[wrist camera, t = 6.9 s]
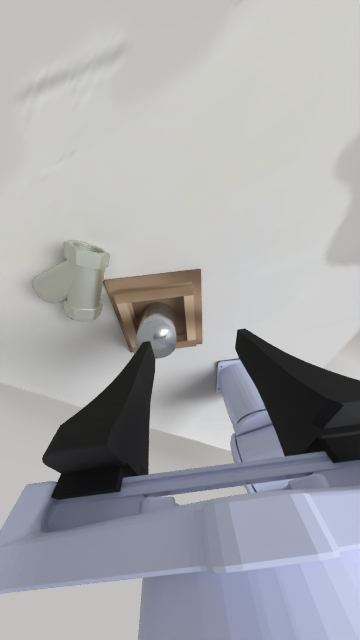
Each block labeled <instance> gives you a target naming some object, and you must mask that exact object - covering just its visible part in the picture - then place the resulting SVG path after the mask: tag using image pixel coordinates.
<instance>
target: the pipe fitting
mask: <svg viewBox="0 0 360 640" xmlns="http://www.w3.org/2000/svg"><path fill="white" fill-rule="evenodd" d="M109 256H110V255H109V254H108V253H107V252H106V251H105V250H103V249H101V248H99V247H97V246H94V245H91V244H88V243H85V242H80V241H75V240H69V241H65V242H64V257H65V258H66V259H67V260H66V261H64V262H62V263H60V264H58V265H57V266H55V267H53V268H51V269H49V270H48V271H46V272H44V273H42V274H40V275H39V276H37V277H35V278H34V279H33V281H32V287H33V289H34V291H35V292H36V294H37V295H38V296H39V297H41V298H42V299H44V300H46V301H48V302H51V303H59V302H61V301H63V300H65V299H66V300H65V301H64V312H65V313H66V314H67V315H68V316H69V317H70V318H71V319H73V320H78V321H92V320H95V319H96V318H97V317H98V316H99V315H100V314H101V311H102V304H101V303H100V300H101V293H102V285H103V278H104V270H105V268H107V267H108V263H109Z"/></svg>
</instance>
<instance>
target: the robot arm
mask: <svg viewBox="0 0 360 640" xmlns="http://www.w3.org/2000/svg"><path fill="white" fill-rule="evenodd" d="M235 349H236V352H237V354H238V356H239V359H238V360H230V361H221V362H219V363H218V368H217V384H216V392H217V393H222V396H223V399H224V402H225V405H226V408H227V411H228V414H229V417H230V420H231V422H232V424H233V428H234V431H235V433H234V434H232V437H231V443H230V445H231V452H232V456H233V460H234V463H232V464H225V465H217V466H210V467H202V468H194V469H186V470H179V471H173V472H172V471H171V472H164V473H156V474H150V475H148V454H149V453H148V452H149V419H150V401H151V394H152V387H153V380H154V373H155V356H154V353H153V349H152V345H151V342H150V341H146V342H142V344H141V345H140V347H139V348H138V350H137V351H136V353H135V354H134V356H133V357H132V358H131V360H130V361H129V363H128V364H127V365H126V366H125V368H124V369H123V370H122V372H121V373H120V374H119V375H118V376H117V377H116V378H115V380H114V381H113V382H112V383H111V384H110V385H109V386H108V387H107V388H106V389H105V390H104V391H102V392H101V393H100V394H99V395H98V396H97V397H96V398H95V399H94V400H93V401H91V402H90V403H89V404H88V405H87V406H85V407H84V408H83V409H82V410H80V411H79V412H78V413H76V414H75V415H74V416H73V417H71V418H70V419H69V420H67V421H66V422H65V423H63V424H62V425H60V427H59V429H58V430H57V432H56V434H55V436H54V437H53V439H52V441H51V443H50V445H49V446H48V448H47V450H46V452H45V453H44V455H43V458H42V460H43V463H44V464H45V465H47V466H48V467H50V468H52V469H54V470H56V471H57V472H59V473H61V476H60V478H59V480H58V482H42V483H35V484H28V485H27V486H25V488H24V490H23V492H22V493H21V495H20V497H19V499H18V500H17V502H16V504H15V506H14V507H13V509H12V511H11V513H10V515H9V517H8V518H7V520H6V522H5V524H4V525H3V527H2V529H1V531H0V594H3V593H10V592H20V591H28V590H37V589H45V588H55V587H64V586H73V585H82V584H90V583H100V582H109V581H118V580H127V579H136V578H143V582H142V595H141V608H140V622H139V623H140V624H139V635H138V640H360V381H359V380H356V379H352V378H349V377H346V376H343V375H340V374H337V373H334V372H331V371H328V370H325V369H323V368H320V367H317V366H315V365H312V364H310V363H307V362H305V361H303V360H300V359H298V358H296V357H294V356H292V355H289V354H287V353H285V352H284V351H282V350H280V349H278V348H276V347H274V346H273V345H271V344H269V343H267V342H266V341H264V340H262V339H261V338H259V337H258V336H256V335H254V334H253V333H251V332H250V331H248V330H246V329H239V330H237V338H236V346H235ZM242 485H244V487H245V488H246V490H247V492H248V494H242V495H234V496H228V497H222V498H216V499H211V500H206V501H200V502H196V503H191V504H187V505H181V506H180V505H179V504H176V503H175V499H174V497H159V496H166V495H174V494H182V493H189V492H197V491H203V490H211V489H219V488H227V487H234V486H242Z"/></svg>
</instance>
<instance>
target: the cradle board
mask: <svg viewBox="0 0 360 640" xmlns="http://www.w3.org/2000/svg"><path fill="white" fill-rule="evenodd" d="M104 283H105V286H106V288H107V291H108V294H109V296H110V299H111V302H112V304H113V307H114V310H115V312H116V315H117V317H118V320H119V323H120V325H121V328H122V331H123V333H124V336H125V339H126V341H127V344H128V347H129V349H130V352H134V354H135V353H136V351H137V348H136V345H135V340H136V336H137V333H138V329H139V325H140V322H141V318H142V315H143V311H144V309H145V308H146V306H147V305H149V304H151V303H153V302H163V303H165V304H167V305H169V306H170V307H171V308H172V310H173V312H174V321H175V332H176V348H183V347H192V346H196V344H202V301H201V269H195V270H186V271H177V272H169V273H160V274H152V275H143V276H134V277H126V278H117V279H108V280H104Z"/></svg>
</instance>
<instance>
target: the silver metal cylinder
mask: <svg viewBox="0 0 360 640" xmlns="http://www.w3.org/2000/svg"><path fill="white" fill-rule="evenodd" d="M146 341H150V342H151V345H152V349H153V353H154V356H155V358H163V357H166V356H168V355H170V354H171V353H172V352H173V351H174V350H175V348H176V332H175V321H174V312H173V310H172V308H171V307H170V306H169V305H167V304H165V303H163V302H153V303H151V304H149V305H147V306H146V308H145V309H144V311H143V315H142V318H141V322H140V325H139V329H138V333H137V336H136V340H135V345H136V348H137V350H138V348H139V347H140V345H141V344H142V342H146Z"/></svg>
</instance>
